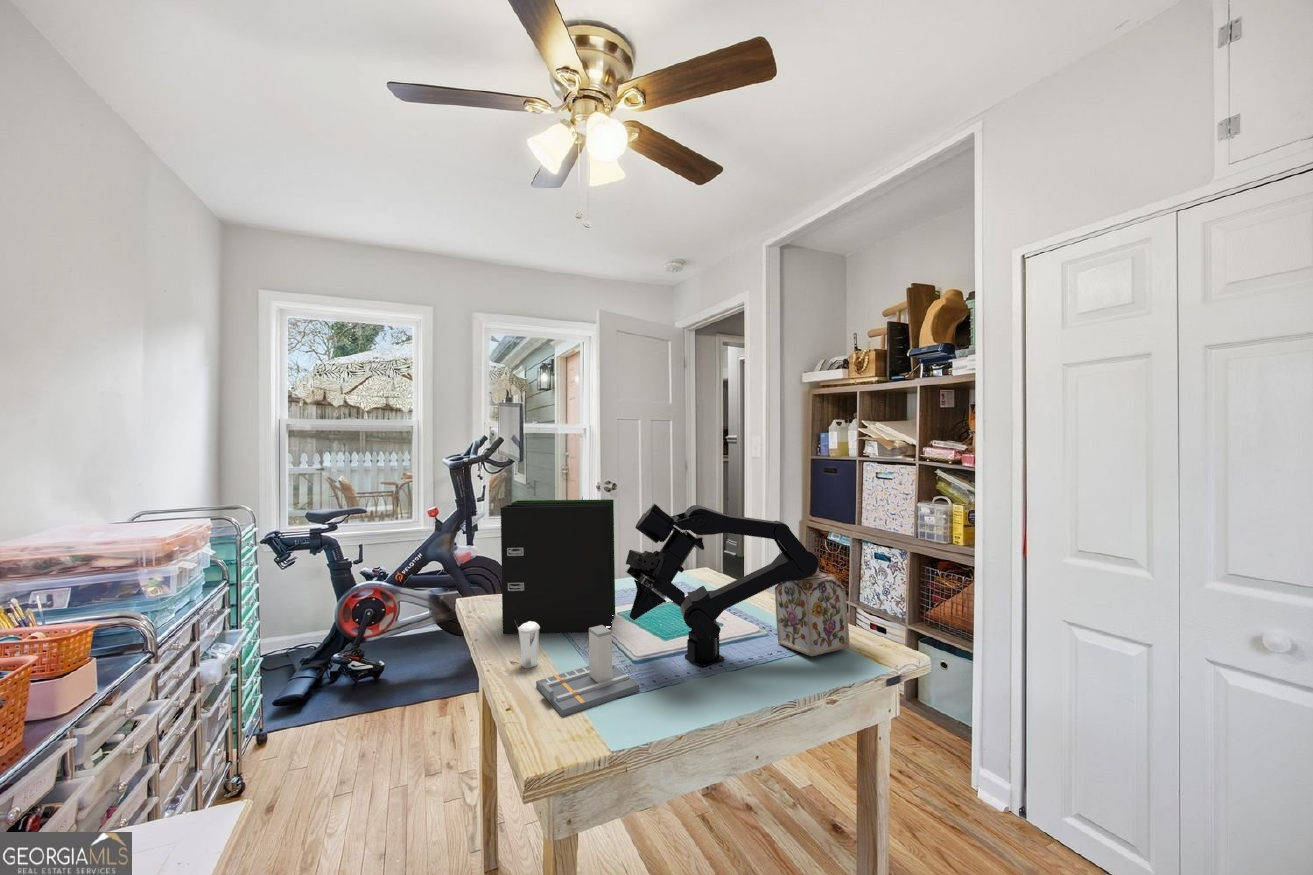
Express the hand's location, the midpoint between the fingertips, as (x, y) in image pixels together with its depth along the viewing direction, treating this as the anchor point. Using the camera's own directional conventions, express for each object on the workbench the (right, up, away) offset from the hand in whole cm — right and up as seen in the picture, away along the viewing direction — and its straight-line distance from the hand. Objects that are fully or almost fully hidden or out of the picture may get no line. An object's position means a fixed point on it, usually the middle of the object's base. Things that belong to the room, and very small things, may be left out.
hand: (631, 618), depth 107 cm
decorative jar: (+41, -10, +11) cm, 44 cm away
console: (-8, -11, -7) cm, 16 cm away
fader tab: (-6, -10, -5) cm, 13 cm away
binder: (-20, -12, +28) cm, 36 cm away
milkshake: (-23, -12, +4) cm, 26 cm away
